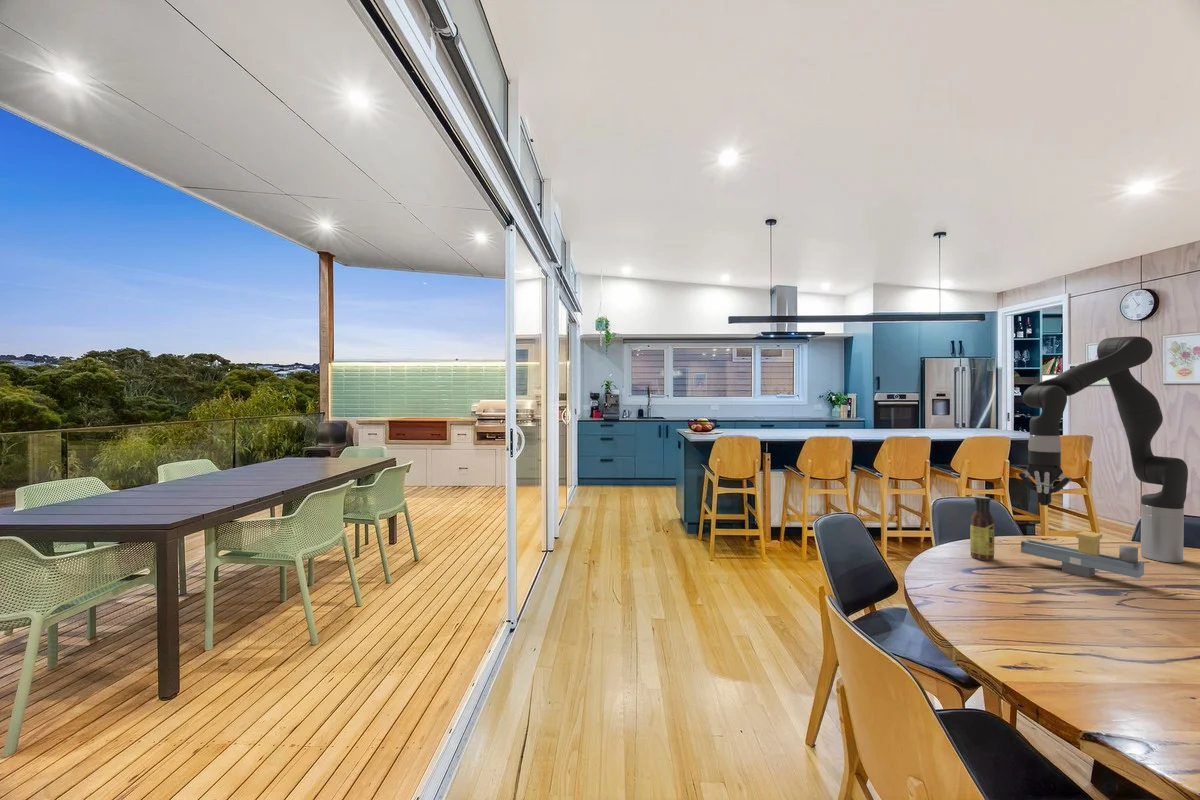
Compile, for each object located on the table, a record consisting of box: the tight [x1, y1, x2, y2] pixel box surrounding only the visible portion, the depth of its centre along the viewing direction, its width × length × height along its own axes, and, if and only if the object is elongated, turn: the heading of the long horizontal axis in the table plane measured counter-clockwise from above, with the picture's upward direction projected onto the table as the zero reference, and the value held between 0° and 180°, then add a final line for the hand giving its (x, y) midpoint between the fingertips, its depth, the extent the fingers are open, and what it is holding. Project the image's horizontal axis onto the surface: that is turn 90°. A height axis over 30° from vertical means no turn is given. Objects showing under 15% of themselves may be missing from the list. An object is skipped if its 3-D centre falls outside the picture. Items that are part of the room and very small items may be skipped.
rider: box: [1075, 530, 1103, 557], centre depth 147 cm, size 4×6×7 cm, turn 121°
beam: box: [1020, 538, 1145, 579], centre depth 149 cm, size 26×5×10 cm, turn 31°
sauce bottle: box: [969, 495, 995, 561], centre depth 162 cm, size 6×6×20 cm
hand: (1044, 504), depth 156 cm, fingers closed
